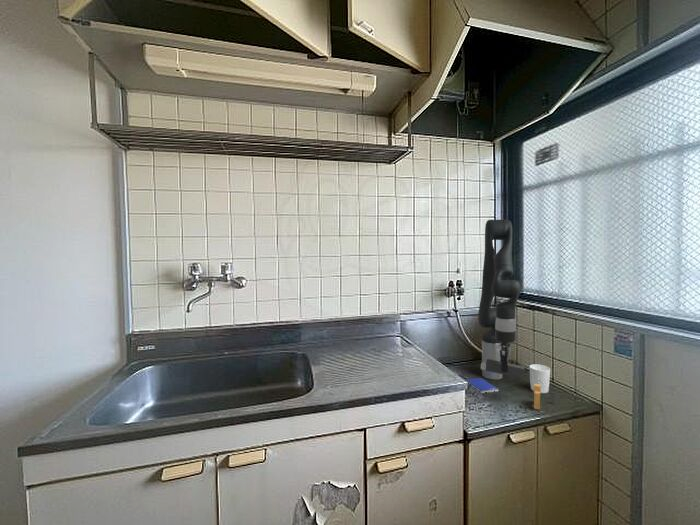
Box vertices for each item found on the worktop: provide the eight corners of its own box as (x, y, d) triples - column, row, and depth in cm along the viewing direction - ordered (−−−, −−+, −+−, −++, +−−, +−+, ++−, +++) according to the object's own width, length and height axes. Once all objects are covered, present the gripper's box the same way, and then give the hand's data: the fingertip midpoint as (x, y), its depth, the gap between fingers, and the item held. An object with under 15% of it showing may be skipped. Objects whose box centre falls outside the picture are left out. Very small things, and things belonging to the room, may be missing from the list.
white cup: (553, 391, 144) (554, 368, 143) (543, 395, 140) (544, 372, 139) (535, 384, 151) (535, 363, 150) (525, 389, 146) (525, 366, 146)
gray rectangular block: (481, 366, 142) (482, 357, 142) (523, 376, 134) (524, 366, 134) (480, 369, 139) (481, 360, 139) (523, 378, 131) (524, 369, 131)
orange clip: (534, 401, 134) (534, 381, 134) (540, 402, 133) (540, 382, 133) (534, 408, 129) (534, 387, 128) (540, 409, 128) (540, 388, 127)
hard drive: (498, 388, 145) (481, 377, 157) (481, 390, 143) (465, 379, 155) (498, 392, 145) (481, 381, 157) (481, 394, 143) (465, 382, 156)
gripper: (514, 334, 127) (513, 378, 128) (517, 325, 139) (516, 366, 140) (493, 331, 131) (492, 374, 132) (497, 323, 143) (497, 363, 144)
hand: (504, 370), depth 136 cm, fingers closed on gray rectangular block, 3 cm apart
